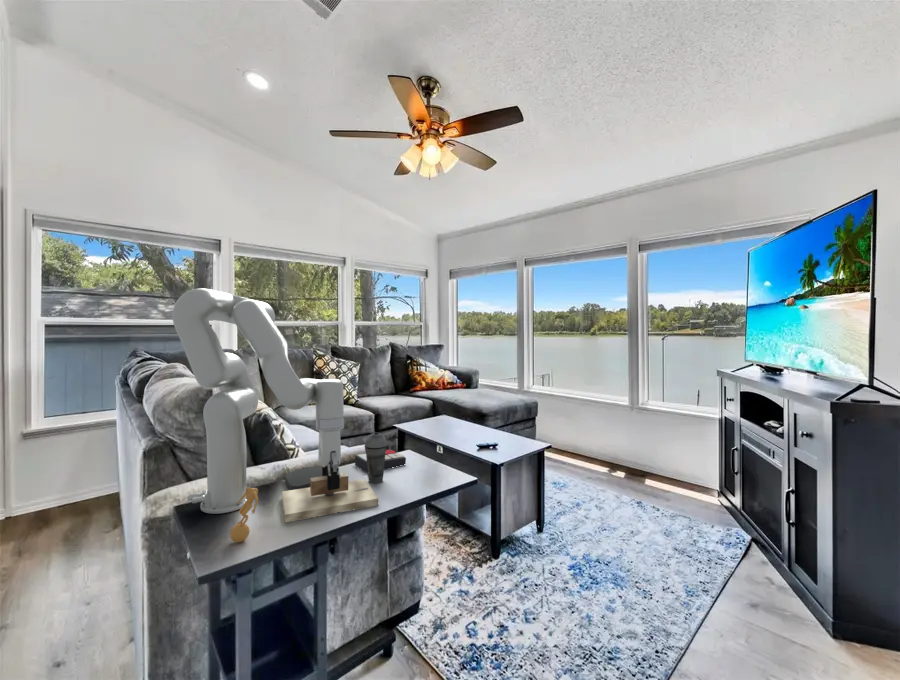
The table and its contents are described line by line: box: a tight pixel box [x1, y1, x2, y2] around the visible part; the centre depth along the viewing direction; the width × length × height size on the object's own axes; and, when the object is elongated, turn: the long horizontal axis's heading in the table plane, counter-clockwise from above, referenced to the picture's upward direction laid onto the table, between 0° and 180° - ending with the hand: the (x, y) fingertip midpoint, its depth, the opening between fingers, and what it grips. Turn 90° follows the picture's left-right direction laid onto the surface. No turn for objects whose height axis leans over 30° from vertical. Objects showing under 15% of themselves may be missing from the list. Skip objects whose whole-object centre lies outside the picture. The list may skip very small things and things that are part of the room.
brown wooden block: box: [310, 472, 349, 496], centre depth 113 cm, size 10×3×5 cm, turn 115°
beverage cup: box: [363, 419, 388, 485], centre depth 129 cm, size 7×7×20 cm
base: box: [281, 478, 379, 523], centre depth 114 cm, size 24×18×2 cm
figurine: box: [229, 486, 259, 543], centre depth 92 cm, size 8×6×12 cm
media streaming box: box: [284, 466, 322, 491], centre depth 128 cm, size 15×15×3 cm
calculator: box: [354, 449, 407, 474], centre depth 145 cm, size 11×4×15 cm
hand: (330, 483), depth 113 cm, fingers open, 9 cm apart
